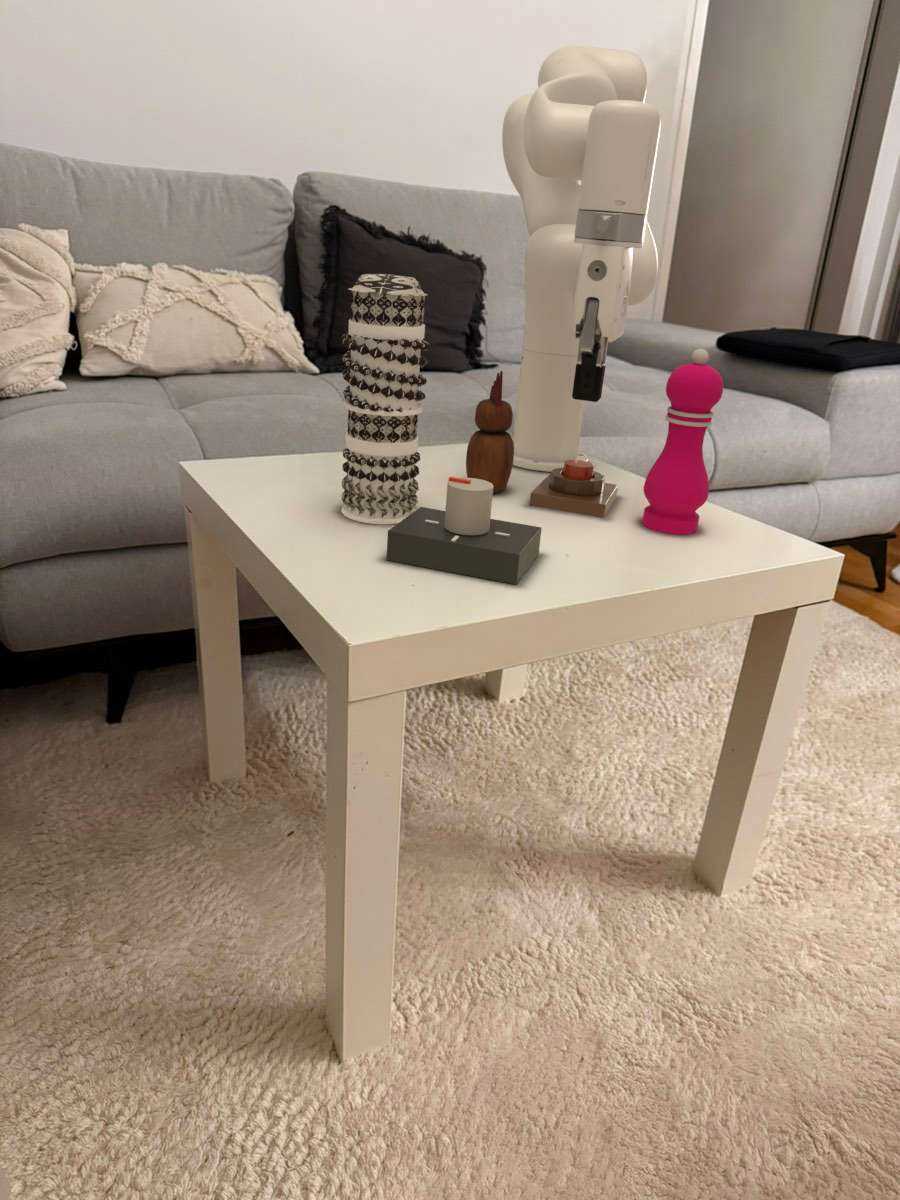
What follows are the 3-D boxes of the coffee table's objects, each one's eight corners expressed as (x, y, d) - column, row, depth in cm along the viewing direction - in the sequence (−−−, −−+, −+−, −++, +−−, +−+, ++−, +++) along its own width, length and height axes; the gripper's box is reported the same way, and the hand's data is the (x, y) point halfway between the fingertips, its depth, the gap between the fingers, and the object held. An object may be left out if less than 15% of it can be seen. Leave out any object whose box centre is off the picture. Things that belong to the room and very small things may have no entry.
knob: (494, 526, 84) (499, 479, 82) (481, 538, 80) (485, 489, 79) (453, 518, 86) (456, 472, 84) (437, 530, 82) (441, 482, 80)
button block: (547, 486, 111) (550, 460, 110) (616, 497, 109) (620, 470, 107) (529, 506, 102) (532, 477, 101) (603, 518, 100) (607, 489, 98)
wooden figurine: (505, 499, 104) (518, 374, 98) (459, 494, 105) (469, 369, 99) (513, 485, 110) (525, 367, 104) (469, 480, 111) (479, 362, 105)
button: (565, 471, 106) (567, 458, 106) (594, 476, 105) (596, 462, 105) (560, 478, 103) (561, 464, 102) (589, 482, 102) (591, 468, 101)
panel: (418, 533, 90) (420, 505, 89) (538, 555, 86) (542, 525, 85) (386, 560, 82) (387, 529, 81) (516, 584, 78) (519, 552, 77)
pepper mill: (633, 529, 97) (663, 348, 89) (642, 513, 103) (671, 342, 95) (698, 541, 94) (734, 355, 87) (703, 523, 101) (738, 349, 93)
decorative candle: (361, 529, 90) (369, 277, 80) (324, 504, 97) (328, 270, 87) (435, 520, 94) (451, 281, 85) (394, 497, 101) (406, 274, 92)
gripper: (634, 233, 86) (607, 415, 93) (651, 234, 99) (626, 393, 106) (562, 227, 88) (541, 405, 95) (587, 229, 101) (567, 386, 108)
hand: (586, 399), depth 101 cm, fingers closed
